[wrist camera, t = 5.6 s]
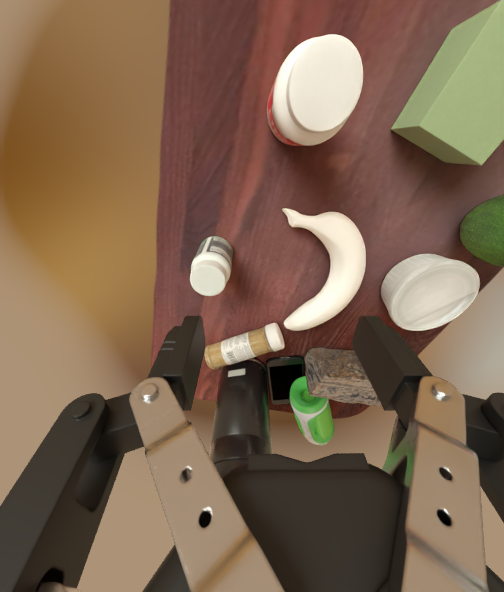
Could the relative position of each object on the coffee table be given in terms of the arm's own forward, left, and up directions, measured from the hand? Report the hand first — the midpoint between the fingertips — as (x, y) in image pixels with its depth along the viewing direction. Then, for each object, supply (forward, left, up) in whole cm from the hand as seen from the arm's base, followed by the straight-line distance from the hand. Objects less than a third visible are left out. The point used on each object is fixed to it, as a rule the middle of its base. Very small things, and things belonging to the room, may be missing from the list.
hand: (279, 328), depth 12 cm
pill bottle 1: (-7, +4, -22) cm, 23 cm away
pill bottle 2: (+11, +1, -22) cm, 25 cm away
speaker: (-33, -24, -14) cm, 43 cm away
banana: (-5, -9, -22) cm, 24 cm away
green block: (+18, -13, -22) cm, 31 cm away
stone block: (-17, -25, -22) cm, 37 cm away
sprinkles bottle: (-25, -1, -19) cm, 32 cm away
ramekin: (0, -25, -22) cm, 33 cm away
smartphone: (-22, -14, -22) cm, 34 cm away
